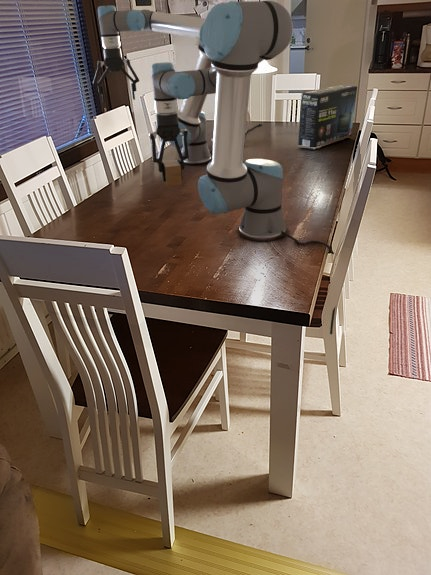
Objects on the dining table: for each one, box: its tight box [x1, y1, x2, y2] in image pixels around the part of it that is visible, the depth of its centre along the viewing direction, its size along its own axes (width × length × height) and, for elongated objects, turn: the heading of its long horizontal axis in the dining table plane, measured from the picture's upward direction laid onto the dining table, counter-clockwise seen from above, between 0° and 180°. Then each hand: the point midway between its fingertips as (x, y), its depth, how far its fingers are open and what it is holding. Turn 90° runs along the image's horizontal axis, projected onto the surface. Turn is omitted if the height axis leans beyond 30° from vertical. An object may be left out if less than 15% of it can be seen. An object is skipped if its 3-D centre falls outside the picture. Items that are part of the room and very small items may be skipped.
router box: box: [297, 84, 358, 151], centre depth 238 cm, size 36×11×27 cm, turn 134°
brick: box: [162, 159, 183, 188], centre depth 167 cm, size 8×6×7 cm, turn 15°
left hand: (118, 100), depth 208 cm, fingers open, 13 cm apart
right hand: (172, 179), depth 168 cm, fingers closed on brick, 6 cm apart
